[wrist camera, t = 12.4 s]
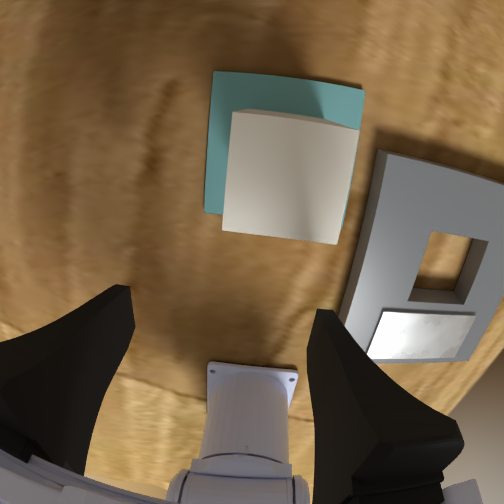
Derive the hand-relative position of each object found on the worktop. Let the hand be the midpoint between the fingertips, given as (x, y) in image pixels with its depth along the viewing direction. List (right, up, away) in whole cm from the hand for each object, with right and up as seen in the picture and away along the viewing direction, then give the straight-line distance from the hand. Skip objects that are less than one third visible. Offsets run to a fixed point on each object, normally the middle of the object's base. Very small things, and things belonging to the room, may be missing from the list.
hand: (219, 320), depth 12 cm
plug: (+3, +9, +7) cm, 11 cm away
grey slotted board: (+15, +1, +10) cm, 18 cm away
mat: (+3, +9, +7) cm, 12 cm away
